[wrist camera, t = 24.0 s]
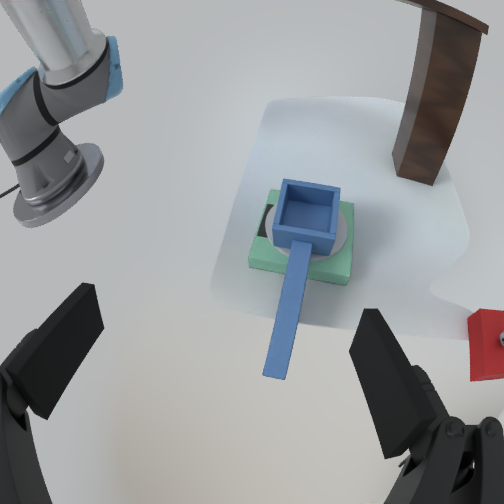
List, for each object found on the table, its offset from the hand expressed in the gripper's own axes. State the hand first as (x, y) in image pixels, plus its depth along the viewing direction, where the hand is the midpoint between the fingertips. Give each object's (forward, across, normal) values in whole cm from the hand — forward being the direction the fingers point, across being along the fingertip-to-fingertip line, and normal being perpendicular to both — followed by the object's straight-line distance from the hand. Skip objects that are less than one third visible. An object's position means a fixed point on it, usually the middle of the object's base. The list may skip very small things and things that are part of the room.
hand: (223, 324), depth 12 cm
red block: (+6, -31, +9) cm, 33 cm away
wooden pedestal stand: (+33, -25, -8) cm, 43 cm away
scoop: (+14, -6, +5) cm, 16 cm away
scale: (+21, -8, +3) cm, 23 cm away
